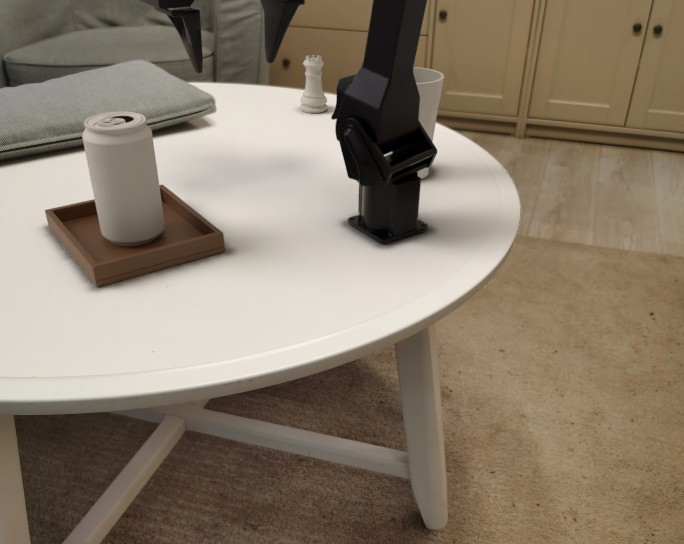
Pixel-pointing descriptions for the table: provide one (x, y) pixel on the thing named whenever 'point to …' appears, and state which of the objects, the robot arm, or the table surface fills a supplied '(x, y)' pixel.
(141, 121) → the beverage can
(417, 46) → the robot arm
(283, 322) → the table surface
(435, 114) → the cup
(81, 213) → the tray
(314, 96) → the rook chess piece
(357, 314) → the table surface
